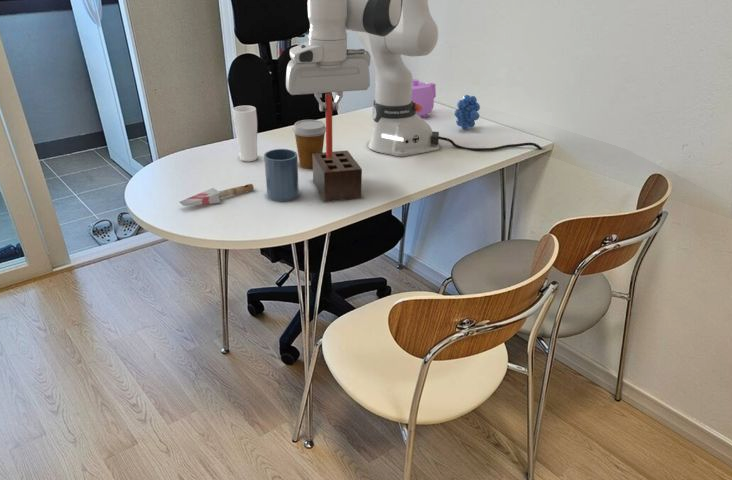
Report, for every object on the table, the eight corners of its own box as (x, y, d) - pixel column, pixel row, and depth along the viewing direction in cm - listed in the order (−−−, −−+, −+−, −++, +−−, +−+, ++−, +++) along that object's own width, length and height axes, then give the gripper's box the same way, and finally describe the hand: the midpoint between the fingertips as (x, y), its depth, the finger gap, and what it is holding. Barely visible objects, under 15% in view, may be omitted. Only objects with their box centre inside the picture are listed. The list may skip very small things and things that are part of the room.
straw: (331, 155, 144) (331, 93, 135) (333, 158, 143) (332, 94, 134) (325, 156, 144) (324, 93, 135) (327, 158, 143) (326, 95, 134)
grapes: (462, 136, 186) (467, 100, 179) (448, 131, 191) (452, 95, 184) (486, 129, 192) (491, 94, 185) (471, 124, 196) (476, 90, 190)
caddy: (347, 177, 156) (347, 150, 151) (361, 198, 145) (362, 169, 140) (313, 181, 153) (312, 153, 149) (324, 202, 142) (324, 172, 138)
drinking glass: (255, 163, 164) (251, 112, 155) (234, 162, 165) (228, 111, 156) (263, 155, 169) (259, 106, 161) (242, 154, 170) (237, 104, 162)
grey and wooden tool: (177, 195, 137) (248, 179, 148) (178, 206, 139) (248, 189, 149) (183, 200, 135) (255, 184, 146) (185, 211, 136) (256, 194, 147)
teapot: (422, 107, 214) (425, 73, 207) (443, 115, 205) (447, 80, 198) (379, 115, 205) (381, 79, 198) (399, 124, 196) (402, 87, 189)
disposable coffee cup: (331, 161, 166) (330, 121, 160) (320, 172, 159) (319, 131, 152) (301, 157, 168) (300, 117, 162) (289, 168, 161) (287, 127, 154)
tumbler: (295, 187, 150) (293, 147, 144) (301, 199, 143) (299, 158, 137) (265, 190, 148) (262, 150, 142) (269, 203, 141) (266, 161, 135)
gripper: (366, 45, 134) (365, 103, 142) (282, 49, 129) (286, 109, 137) (374, 51, 129) (372, 110, 137) (287, 55, 124) (290, 117, 132)
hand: (328, 110), depth 137 cm, fingers closed on straw, 1 cm apart
